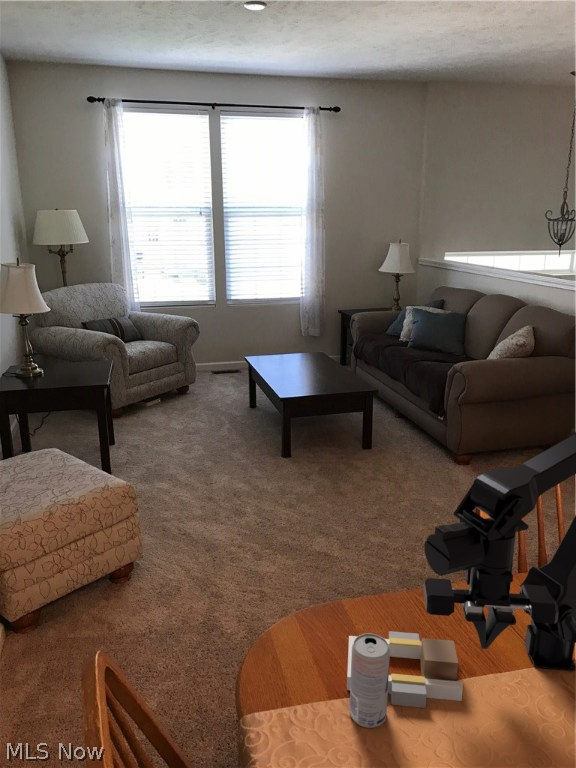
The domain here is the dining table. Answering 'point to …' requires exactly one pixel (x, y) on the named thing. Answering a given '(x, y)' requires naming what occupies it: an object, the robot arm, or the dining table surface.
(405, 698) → the white u-shaped frame
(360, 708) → the energy drink
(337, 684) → the dining table surface
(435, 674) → the block
